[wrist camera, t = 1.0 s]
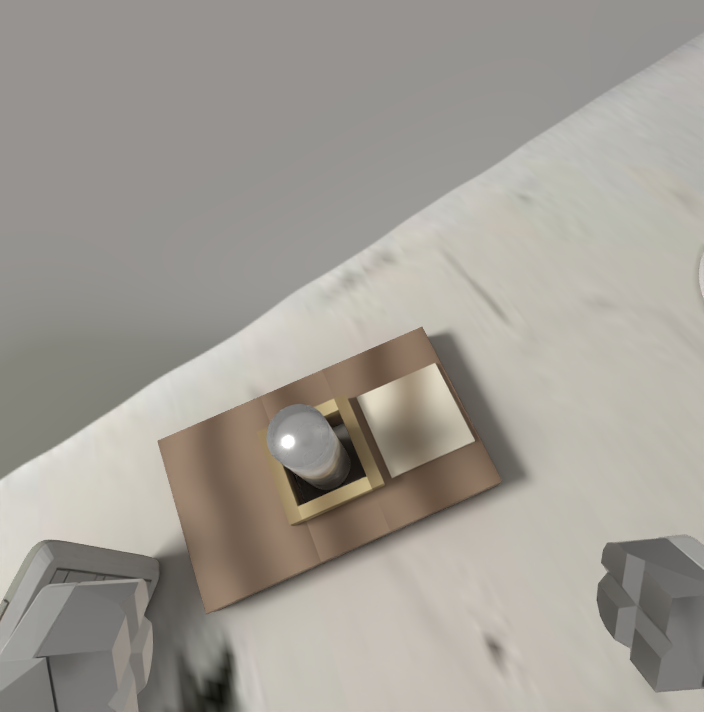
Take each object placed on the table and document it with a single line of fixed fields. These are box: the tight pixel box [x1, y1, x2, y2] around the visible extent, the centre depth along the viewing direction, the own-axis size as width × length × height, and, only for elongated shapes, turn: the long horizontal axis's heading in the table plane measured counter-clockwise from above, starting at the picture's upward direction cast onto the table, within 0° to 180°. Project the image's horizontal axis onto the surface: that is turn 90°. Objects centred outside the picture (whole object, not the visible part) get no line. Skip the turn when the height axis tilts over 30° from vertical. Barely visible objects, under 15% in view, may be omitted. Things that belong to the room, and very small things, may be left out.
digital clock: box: [0, 540, 159, 653], centre depth 37 cm, size 16×9×11 cm, turn 148°
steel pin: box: [267, 404, 350, 490], centre depth 40 cm, size 4×4×12 cm
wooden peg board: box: [158, 327, 502, 614], centre depth 43 cm, size 24×14×4 cm, turn 113°
